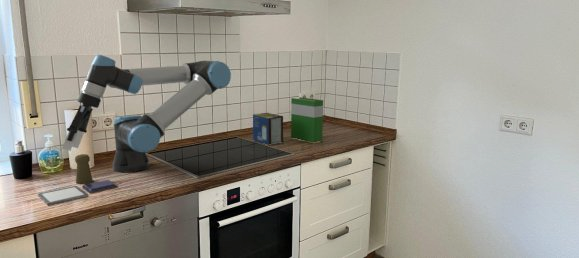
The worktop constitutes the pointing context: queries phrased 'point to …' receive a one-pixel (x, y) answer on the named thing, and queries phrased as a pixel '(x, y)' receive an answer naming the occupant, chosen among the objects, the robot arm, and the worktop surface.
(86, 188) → the pad
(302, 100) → the green canister
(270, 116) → the protein box
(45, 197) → the marked mat
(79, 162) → the olive tapered cylinder
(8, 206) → the worktop surface
